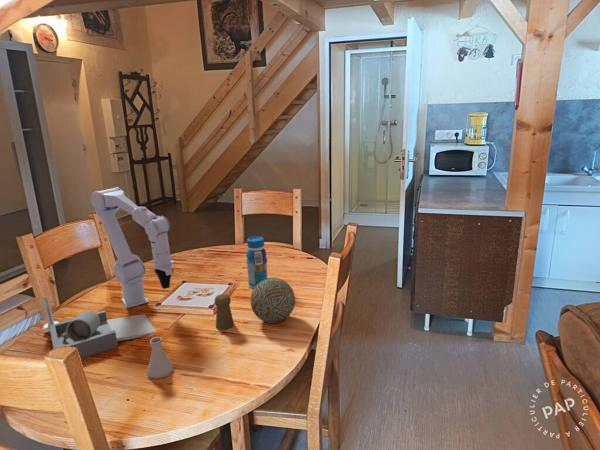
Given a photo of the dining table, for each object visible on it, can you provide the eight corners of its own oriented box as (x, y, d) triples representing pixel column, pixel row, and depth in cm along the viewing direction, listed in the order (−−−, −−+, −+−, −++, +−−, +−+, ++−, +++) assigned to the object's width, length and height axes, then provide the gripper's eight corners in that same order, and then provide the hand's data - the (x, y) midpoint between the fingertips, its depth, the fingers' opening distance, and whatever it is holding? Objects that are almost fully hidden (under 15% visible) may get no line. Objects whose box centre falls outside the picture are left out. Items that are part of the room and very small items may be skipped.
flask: (150, 364, 117) (145, 333, 114) (176, 362, 117) (172, 331, 115) (143, 380, 110) (138, 348, 107) (170, 378, 110) (166, 346, 108)
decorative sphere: (267, 306, 149) (264, 268, 145) (303, 314, 142) (302, 274, 138) (243, 325, 136) (239, 284, 132) (282, 335, 129) (279, 292, 125)
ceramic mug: (103, 327, 134) (99, 306, 132) (93, 341, 126) (88, 319, 124) (70, 331, 133) (65, 309, 131) (58, 344, 125) (52, 322, 123)
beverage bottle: (244, 287, 165) (240, 240, 160) (254, 279, 173) (251, 234, 167) (263, 290, 162) (259, 242, 157) (272, 282, 170) (269, 236, 164)
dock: (53, 341, 132) (49, 325, 131) (143, 315, 148) (141, 300, 146) (58, 368, 118) (53, 350, 116) (158, 336, 133) (155, 319, 132)
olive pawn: (230, 330, 133) (227, 300, 130) (212, 329, 134) (209, 299, 131) (236, 321, 139) (234, 292, 136) (220, 320, 140) (217, 291, 137)
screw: (61, 331, 136) (44, 336, 134) (60, 325, 140) (44, 330, 138) (53, 296, 133) (36, 300, 130) (52, 291, 137) (36, 295, 134)
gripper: (179, 254, 138) (183, 291, 141) (166, 244, 149) (170, 278, 153) (158, 259, 134) (163, 297, 138) (146, 248, 145) (151, 283, 149)
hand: (165, 287), depth 145 cm, fingers closed
